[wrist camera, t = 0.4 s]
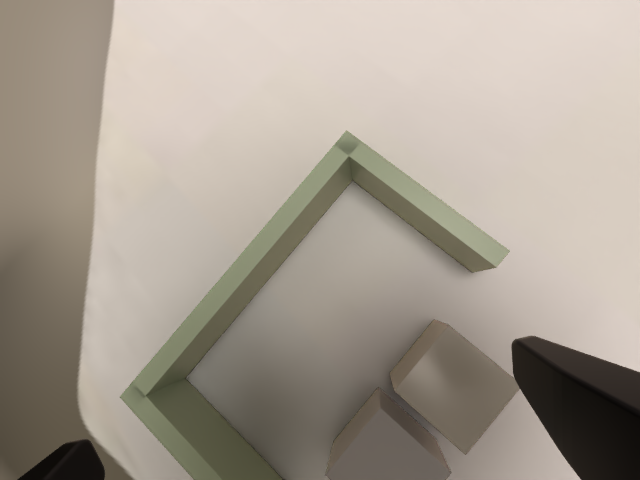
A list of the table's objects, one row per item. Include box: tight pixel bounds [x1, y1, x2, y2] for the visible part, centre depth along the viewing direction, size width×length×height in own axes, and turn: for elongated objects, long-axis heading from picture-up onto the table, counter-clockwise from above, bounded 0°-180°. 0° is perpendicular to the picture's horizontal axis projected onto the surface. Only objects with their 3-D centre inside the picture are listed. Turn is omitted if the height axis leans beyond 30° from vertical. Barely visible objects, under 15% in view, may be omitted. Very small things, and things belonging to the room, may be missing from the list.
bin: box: [120, 130, 510, 480], centre depth 20 cm, size 10×18×4 cm, turn 139°
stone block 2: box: [390, 320, 520, 455], centre depth 18 cm, size 4×4×4 cm
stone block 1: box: [325, 387, 451, 480], centre depth 18 cm, size 4×4×4 cm
